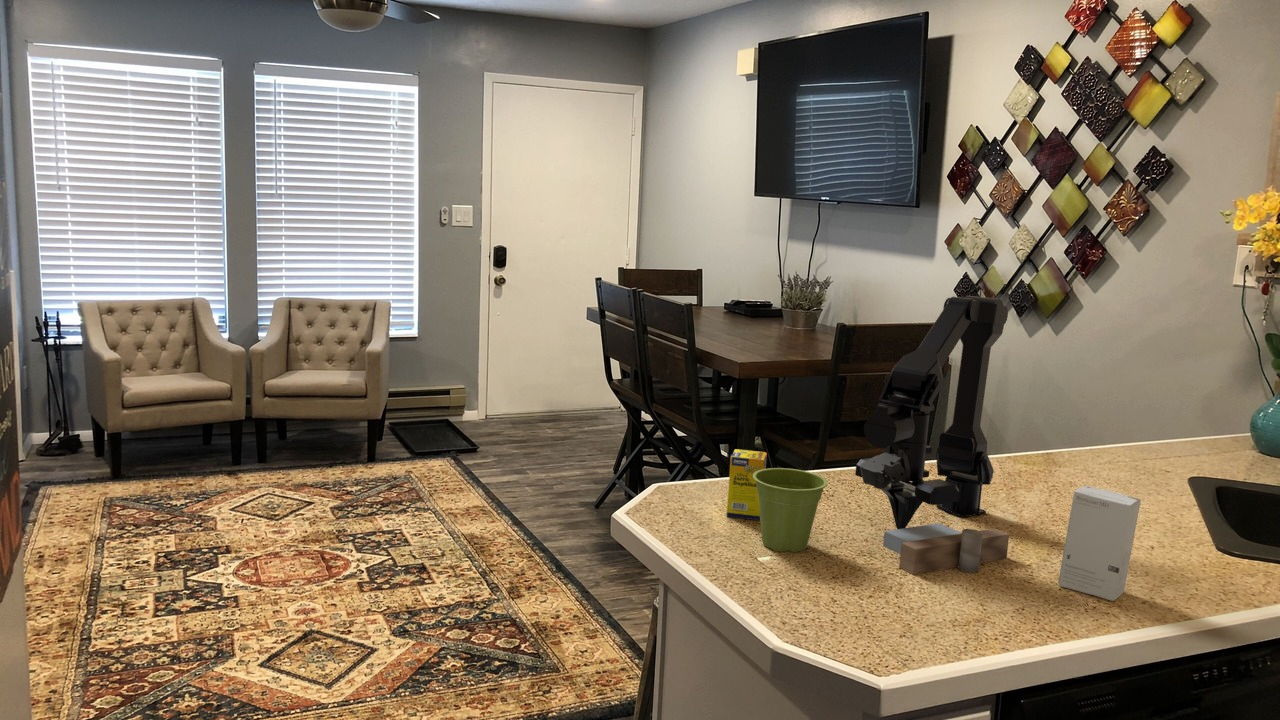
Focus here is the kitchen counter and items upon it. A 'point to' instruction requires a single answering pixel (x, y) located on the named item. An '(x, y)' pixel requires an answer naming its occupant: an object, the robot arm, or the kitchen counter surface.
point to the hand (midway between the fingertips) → (900, 529)
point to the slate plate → (915, 535)
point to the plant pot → (787, 506)
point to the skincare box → (1099, 542)
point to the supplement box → (744, 484)
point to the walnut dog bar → (954, 551)
